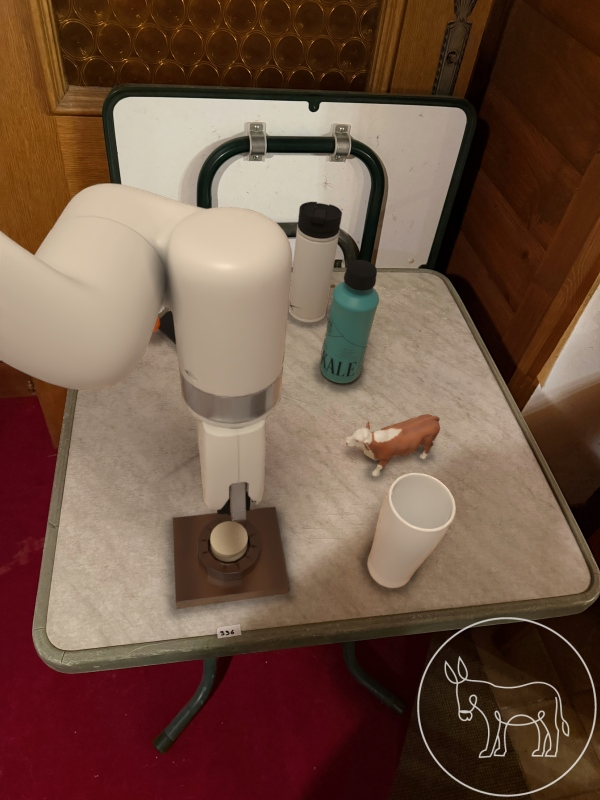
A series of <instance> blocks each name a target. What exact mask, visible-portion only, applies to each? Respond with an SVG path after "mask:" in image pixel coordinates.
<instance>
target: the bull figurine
mask: <svg viewBox="0 0 600 800" xmlns="http://www.w3.org/2000/svg"><path fill="white" fill-rule="evenodd" d="M365 424H366V425H365V427H360V428H357V429H356V430H354V432H353V433H352V434H351V435H348V436H346V437H345V439H344V440H345V445H346V446H347V447H349V448H353V447H355V448H357V449H359V450H362V451H363V454H364V455H365V456H366V457H368V458H370V459H372V460H373V461H375V462H377V461H379V462H377V464H376V468H375V469H374V470H373V471H372V472H371V475H372V477H373V476H374V477H378V476H380V475H381V470H383V469H384V468H385V466H386V464H388V463H389V462H390V460H391V459H393V457H399V456H406V455H410V454H412V453H414V452H416V450H417V449H419V447H420V446H423V448H424V449H423V451H422V452H421V453H419V458H420V459H423V460H425V459H426V458H427V457H429V452H430V450H431V448H433V446H434V441H435V440H436V438H437V436H438V435H439V433H440V431H441V424H440V417H439V416H437V415H432V414H430V413H429V414H428V413H427V414H421V415H418V416H416V417H411V418H409V419H406V420H403V421H401V422H400V421H399V422H397V423H394V424H392V425H387V426H385V427H382V428H380V429H377V430H375V431H370V430H371V425H370V421H367V422H366V423H365Z"/></svg>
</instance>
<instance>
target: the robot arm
mask: <svg viewBox="0 0 600 800" xmlns="http://www.w3.org/2000/svg"><path fill="white" fill-rule="evenodd" d="M292 272H293V252H292V247H291V243H290V240H289V237H288V235H287V234H286V232H285V230H284V229H283V228H282V227H281V226H280V225H279V224H278V223H277V221H275V220H273V219H272V218H270V217H268V216H267V215H264V214H263V213H261V212H258V211H256V210H253V209H250V208H249V209H248V208H243V207H239V206H238V207H237V206H236V207H235V206H218V207H209V208H204V207H200V206H196V205H192V204H189V203H185V202H183V201H179V200H176V199H173V198H169V197H166V196H163V195H160V194H157V193H154V192H151V191H148V190H144V189H142V188H138V187H135V186H131V185H126V184H121V183H110V182H109V183H108V182H105V183H97V184H93V185H90V186H88V187H86V188H84V189H82V190H80V191H79V192H78V193H76V194H75V195H74V196H73V197H72V198H71V199H70V200H69V202H68V203H67V205H66V206H65V207H64V209H63V211H62V212H61V213H60V215H59V217H58V218H57V220H56V222H55V223H54V225H53V226H52V228H51V229H50V230H49V232H48V233H47V235H46V237H45V238H44V239H43V241H42V242H41V244H40V245H39V247H38V249H37V251H36V252H35V253H34V254H33V253H31V252H30V251H29V250H27V249H26V248H24V247H22V246H21V245H20V244H19V243H17V242H16V241H15V240H13V239H12V238H10V237H9V236H8V235H6V233H4V232H2V231H1V230H0V362H3V363H5V364H6V365H8V366H10V367H12V368H14V369H16V370H18V371H20V372H21V373H24V374H26V375H28V376H30V377H33V378H34V379H37V380H40V381H43V382H44V383H47V384H50V385H54V386H57V387H62V388H65V389H68V390H69V389H70V390H76V391H98V390H99V391H100V390H103V389H107V388H110V387H114V386H115V385H117V384H119V383H121V382H123V381H124V380H126V379H127V378H128V377H129V376H130V375H131V374H132V373H133V372H134V371H135V369H136V368H137V367H138V366H139V365H140V363H141V361H142V360H143V358H144V355H145V353H146V351H147V349H148V346H149V343H150V341H151V338H152V335H153V333H152V332H153V330H154V326H155V323H156V320H157V317H158V314H159V311H160V308H161V306H165V307H167V308H169V309H170V310H171V312H172V314H173V320H174V329H175V338H176V345H175V346H176V354H177V363H178V371H179V372H178V373H179V380H180V381H179V382H180V390H181V397H182V402H183V404H184V406H185V407H186V409H187V410H188V411H189V413H190V414H191V415H192V416H193V417H195V418H196V420H195V421H196V431H197V433H196V434H197V443H198V444H197V445H198V453H199V467H200V475H201V484H202V494H203V495H202V496H203V503H204V506H205V507H206V509H207V510H209V511H216V513H218V514H228V515H231V518H232V522H237V521H246V511H249V510H250V509H251V503H254V504H255V506H257V505H258V504H259V503H260V502H261V501H262V499H263V497H264V488H265V477H266V476H265V474H266V451H267V450H266V449H267V439H268V437H267V417H269V416H270V415H271V414H272V413H273V412H274V411H275V410H276V409H277V407H278V405H279V403H280V400H281V396H282V387H283V374H284V364H285V363H284V362H285V352H286V341H287V339H286V338H287V327H288V314H289V311H288V310H289V300H290V291H291V281H292ZM170 310H169V311H170Z"/></svg>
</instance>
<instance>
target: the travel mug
mask: <svg viewBox="0 0 600 800" xmlns="http://www.w3.org/2000/svg"><path fill="white" fill-rule="evenodd" d="M342 217H343V212H342V210H341V209H340V208H339V207H338V206H336V205H334V204H331V203H329V204H326V203H322V202H318V201H307V202H304V203H302V204H300V206H299V210H298V219H297V225H296V234H295V244H294V251H293V252H294V254H293V261H292V271H291V282H290V294H289V305H288V314H289V316H290V317H291V318H292V319H293V320H294V321H297V322H298V323H301V324H307V325H312V324H313V325H314V324H317V323H320V322H321V321H322V320H324V319H325V317H326V314H327V308H328V302H329V296H330V290H331V284H332V280H333V279H332V278H333V273H334V267H335V260H336V255H337V249H338V244H339V243H338V242H339V237H340V229H341V223H342Z"/></svg>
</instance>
